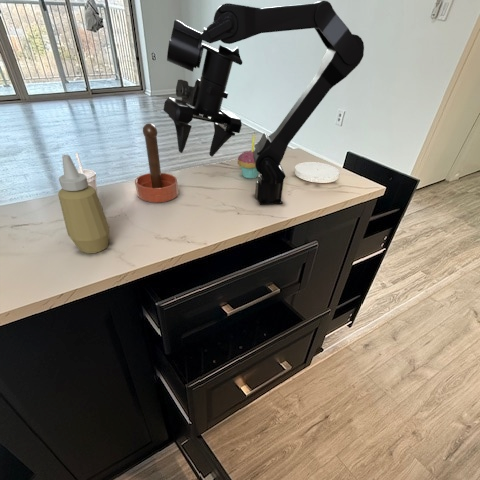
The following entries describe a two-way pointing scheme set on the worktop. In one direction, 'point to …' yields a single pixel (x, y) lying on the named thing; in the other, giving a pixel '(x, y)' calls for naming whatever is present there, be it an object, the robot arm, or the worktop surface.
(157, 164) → the muddler
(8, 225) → the worktop surface
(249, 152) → the cupcake
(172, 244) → the worktop surface
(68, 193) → the squeeze bottle
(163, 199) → the bowl
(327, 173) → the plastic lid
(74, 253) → the worktop surface
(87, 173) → the smoothie
